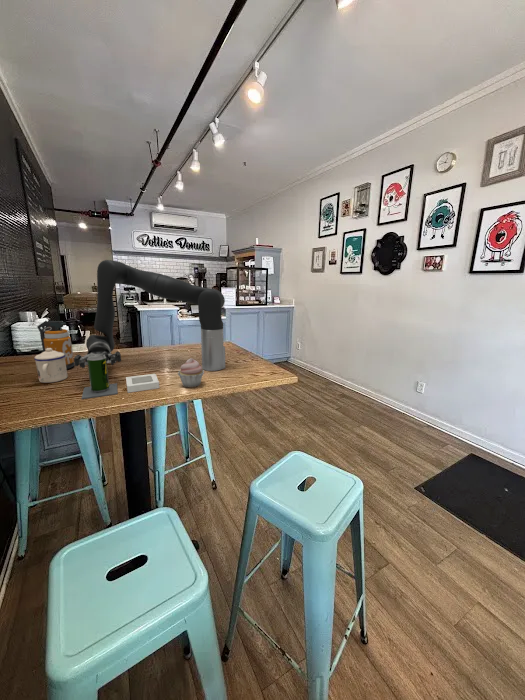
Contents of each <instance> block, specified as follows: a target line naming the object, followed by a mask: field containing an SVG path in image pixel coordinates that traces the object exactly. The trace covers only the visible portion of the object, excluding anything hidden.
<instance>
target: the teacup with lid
mask: <svg viewBox="0 0 525 700" xmlns="http://www.w3.org/2000/svg"><path fill="white" fill-rule="evenodd" d="M34 361H35V367H36V371H37V377H38V380H39V382H40V383H56V382H61V381H64V380H66V379H67V378H68V369H66V362H65V354H64V353H62V352H57V351H53V350H52V348H47V349H46V351H45V352H43V351H42V352H41V353H39V354H37V355H35V356H34Z"/></svg>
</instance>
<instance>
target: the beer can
mask: <svg viewBox="0 0 525 700" xmlns="http://www.w3.org/2000/svg"><path fill="white" fill-rule="evenodd" d="M87 363H88V365H87V369H88V370H87V371H88V376H89V383H90V384H89V385H90V386H89V387H91V390H92V391H93V392H95V393H100V392H105V391H107V390H108V389H109V384H110V379H109V372H108V363H107V361H106V356H105V354H102V353H97V354H91V355H88V358H87Z"/></svg>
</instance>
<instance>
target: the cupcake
mask: <svg viewBox="0 0 525 700" xmlns="http://www.w3.org/2000/svg"><path fill="white" fill-rule="evenodd" d="M204 374H205V370H203V369H202V365H200V362H199V361H197V360H196V359H194V358H192V357H191V358H189V359H187V360H186V361H185V363H183V364H181V366H180V370H179V371H178V372H177V375H178V377H179V378H180V381H181V385H182V386H183V387H184V388H195V387H199V386H201V383H202V378H203V376H204Z"/></svg>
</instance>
